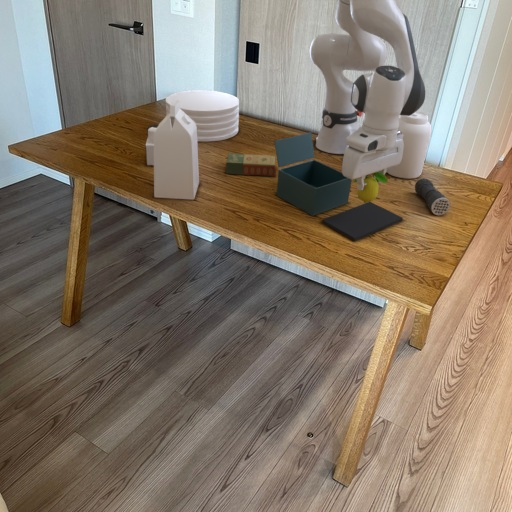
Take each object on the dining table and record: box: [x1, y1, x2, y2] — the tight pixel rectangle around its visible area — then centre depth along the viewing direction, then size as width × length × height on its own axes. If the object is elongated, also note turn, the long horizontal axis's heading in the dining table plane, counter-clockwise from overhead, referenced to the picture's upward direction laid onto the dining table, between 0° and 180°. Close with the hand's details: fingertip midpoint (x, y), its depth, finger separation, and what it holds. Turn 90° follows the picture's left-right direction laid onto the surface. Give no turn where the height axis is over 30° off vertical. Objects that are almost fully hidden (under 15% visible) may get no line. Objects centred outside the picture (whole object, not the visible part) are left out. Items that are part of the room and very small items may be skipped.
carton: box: [225, 152, 277, 177], centre depth 163 cm, size 8×16×4 cm, turn 87°
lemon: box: [353, 172, 389, 204], centre depth 132 cm, size 7×6×10 cm
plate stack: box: [165, 89, 240, 142], centre depth 193 cm, size 28×28×12 cm
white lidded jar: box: [386, 110, 433, 180], centre depth 164 cm, size 12×12×20 cm
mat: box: [321, 201, 403, 242], centre depth 138 cm, size 20×12×1 cm, turn 129°
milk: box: [153, 99, 200, 201], centre depth 142 cm, size 12×12×26 cm
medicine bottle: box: [144, 124, 159, 166], centre depth 163 cm, size 7×7×12 cm
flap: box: [273, 131, 315, 168], centre depth 147 cm, size 8×14×1 cm
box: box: [276, 159, 353, 217], centre depth 146 cm, size 16×15×8 cm
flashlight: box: [414, 178, 452, 216], centre depth 148 cm, size 15×5×5 cm, turn 5°
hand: (368, 186), depth 132 cm, fingers closed on lemon, 5 cm apart
